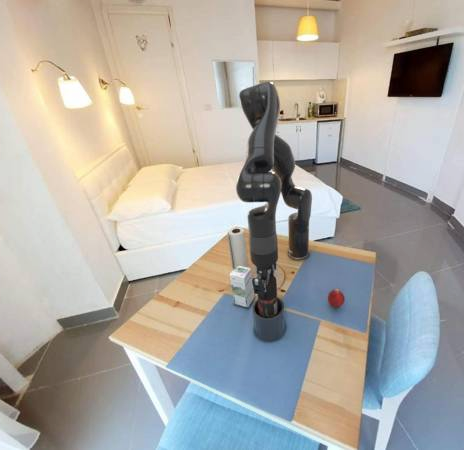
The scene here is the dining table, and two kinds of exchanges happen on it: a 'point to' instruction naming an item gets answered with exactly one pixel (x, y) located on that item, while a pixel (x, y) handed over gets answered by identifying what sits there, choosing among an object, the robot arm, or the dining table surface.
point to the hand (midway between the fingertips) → (267, 291)
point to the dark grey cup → (269, 323)
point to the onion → (336, 298)
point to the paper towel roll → (237, 247)
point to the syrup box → (242, 286)
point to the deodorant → (269, 300)
